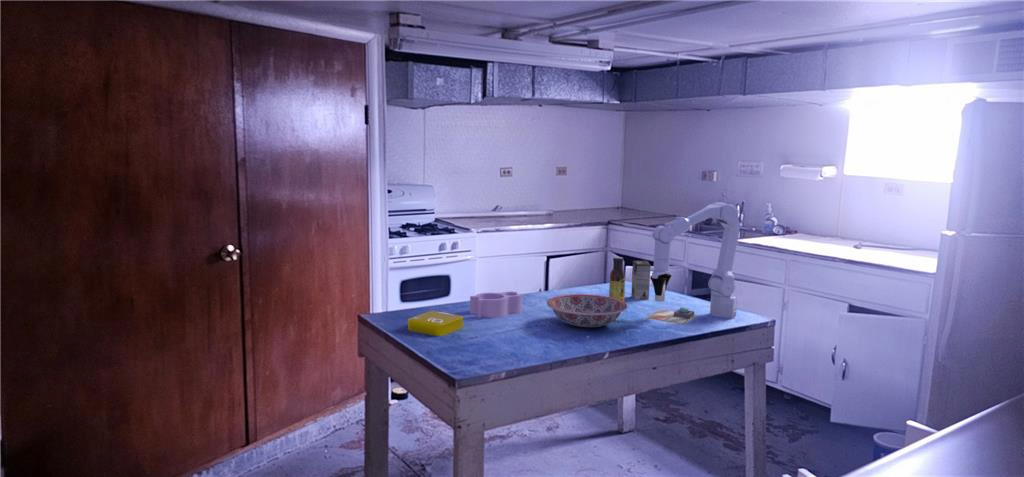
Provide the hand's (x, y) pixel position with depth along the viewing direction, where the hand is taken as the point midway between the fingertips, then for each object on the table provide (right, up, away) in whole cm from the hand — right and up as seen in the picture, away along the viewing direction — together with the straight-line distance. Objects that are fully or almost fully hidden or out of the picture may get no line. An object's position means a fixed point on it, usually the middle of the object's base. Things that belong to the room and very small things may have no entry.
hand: (660, 294), depth 247 cm
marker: (0, -2, 0) cm, 2 cm away
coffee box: (-1, -5, +34) cm, 35 cm away
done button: (+10, -9, +5) cm, 14 cm away
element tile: (-82, -11, -14) cm, 84 cm away
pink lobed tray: (-61, -8, +9) cm, 62 cm away
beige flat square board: (+5, -10, +3) cm, 11 cm away
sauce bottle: (-13, -7, +23) cm, 27 cm away
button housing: (+10, -9, +5) cm, 14 cm away
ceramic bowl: (-28, -11, -6) cm, 31 cm away
